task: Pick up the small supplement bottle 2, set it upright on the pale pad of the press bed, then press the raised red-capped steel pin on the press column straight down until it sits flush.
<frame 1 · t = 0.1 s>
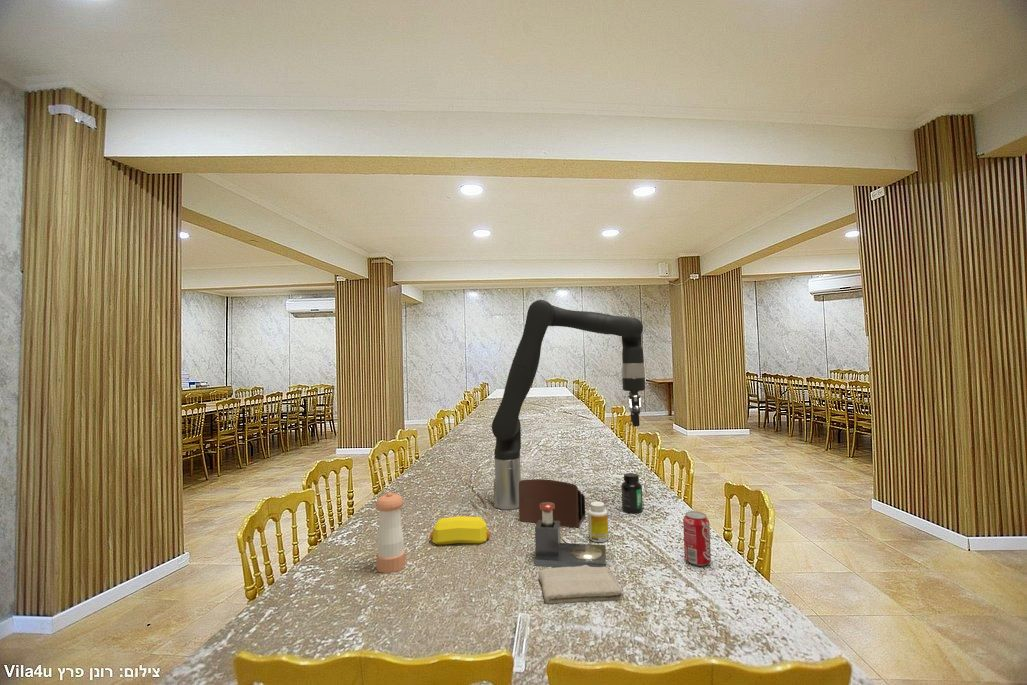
hand: (635, 424, 153), 29 cm above the table, fingers open, 8 cm apart
yellow sponge block: (460, 541, 133), on the table
pin: (547, 519, 121), point 10 cm above the table, slide at 4.0 cm
supplement bottle: (632, 511, 153), on the table
supplement bottle 2: (598, 539, 131), on the table
beverage can: (697, 562, 115), on the table
washcloth: (579, 591, 104), on the table
press bed: (571, 557, 119), on the table
letter holder: (552, 520, 147), on the table
pepper shaker: (391, 567, 117), on the table
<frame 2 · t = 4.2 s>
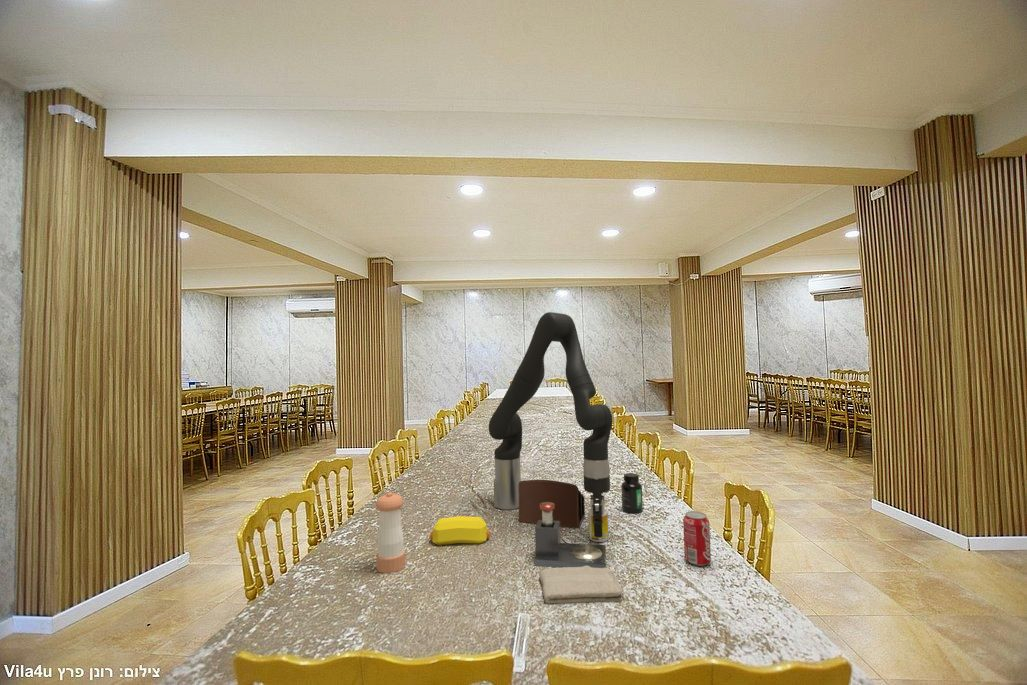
hand: (598, 531, 131), 2 cm above the table, fingers closed on supplement bottle 2, 5 cm apart
supplement bottle 2: (598, 539, 131), on the table, touching gripper
when the fingers open (5 cm above the table, at t = 9.1 s): supplement bottle 2 drops 1 cm, resting on press bed.
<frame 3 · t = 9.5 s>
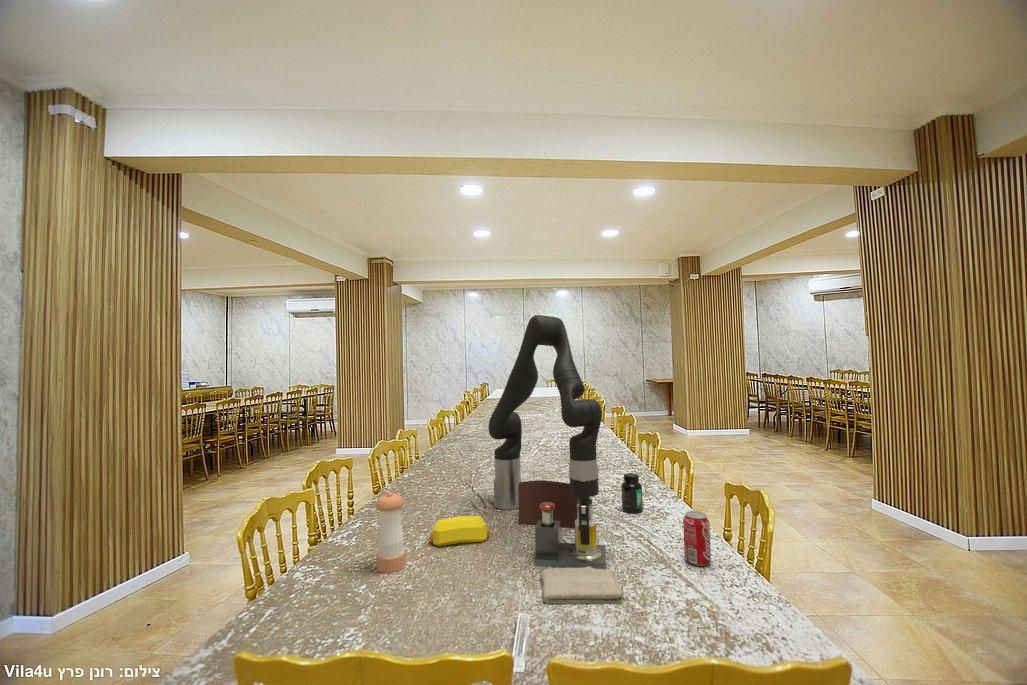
hand: (585, 537, 119), 6 cm above the table, fingers open, 8 cm apart
supplement bottle 2: (586, 552, 119), point 2 cm above the table, touching press bed
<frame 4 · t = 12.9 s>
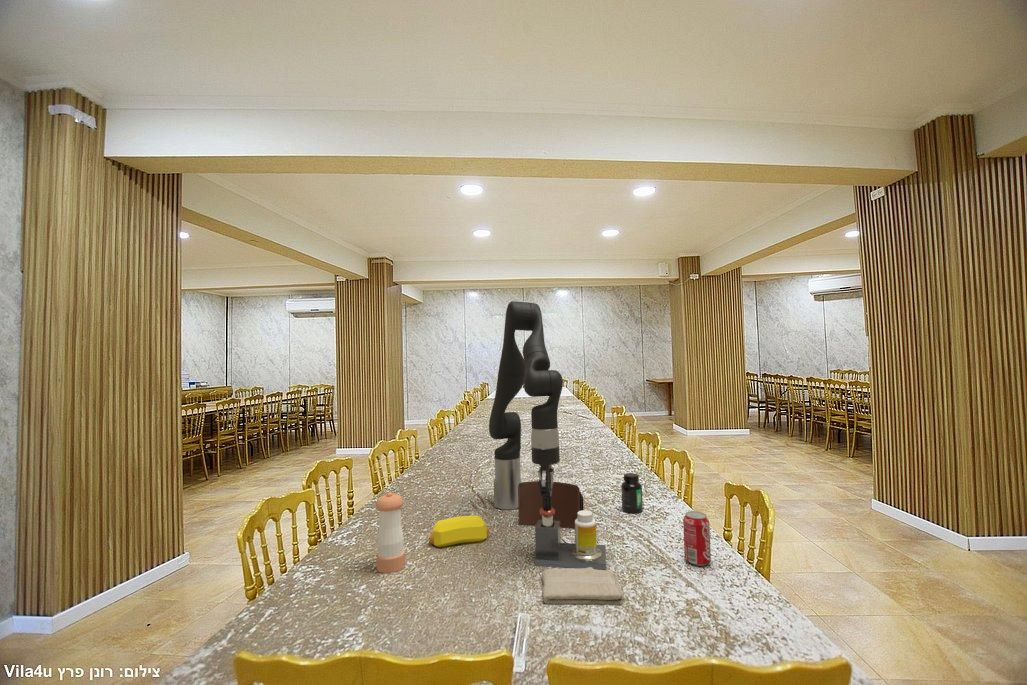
hand: (547, 509, 121), 13 cm above the table, fingers closed
pin: (547, 524, 121), point 8 cm above the table, slide at 2.7 cm, touching gripper
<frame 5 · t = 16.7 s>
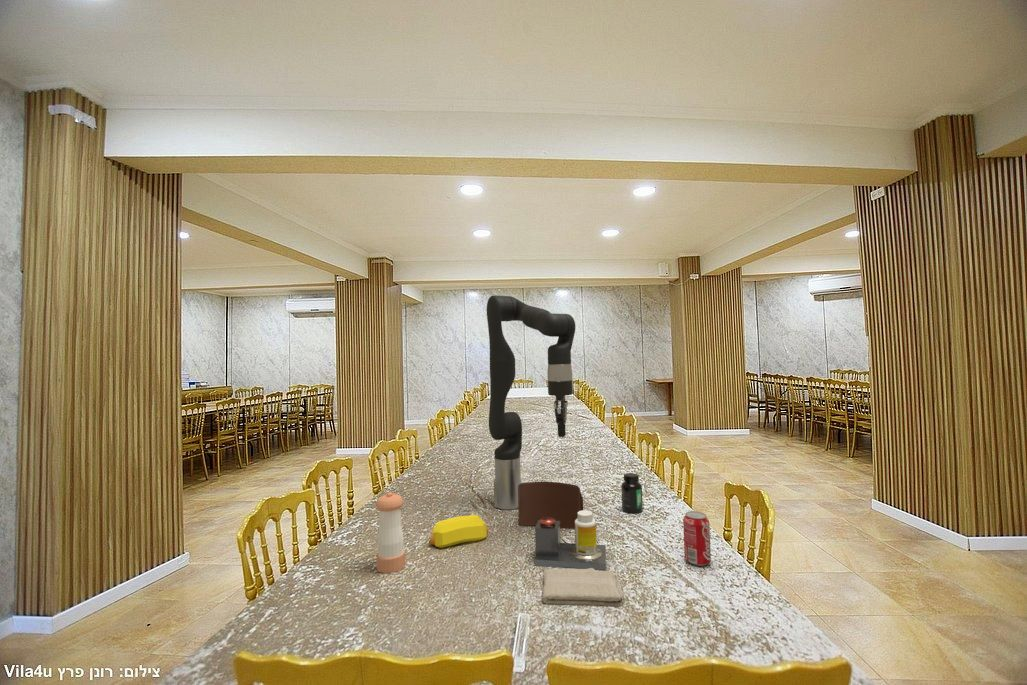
hand: (561, 436, 136), 29 cm above the table, fingers closed
pin: (548, 534, 121), point 6 cm above the table, slide at 0.0 cm
at the end: supplement bottle 2 0.2 cm from the target spot, point 1.5 cm above the table; supplement bottle 2 tilted 0°; pin slide at 0.0 cm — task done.
